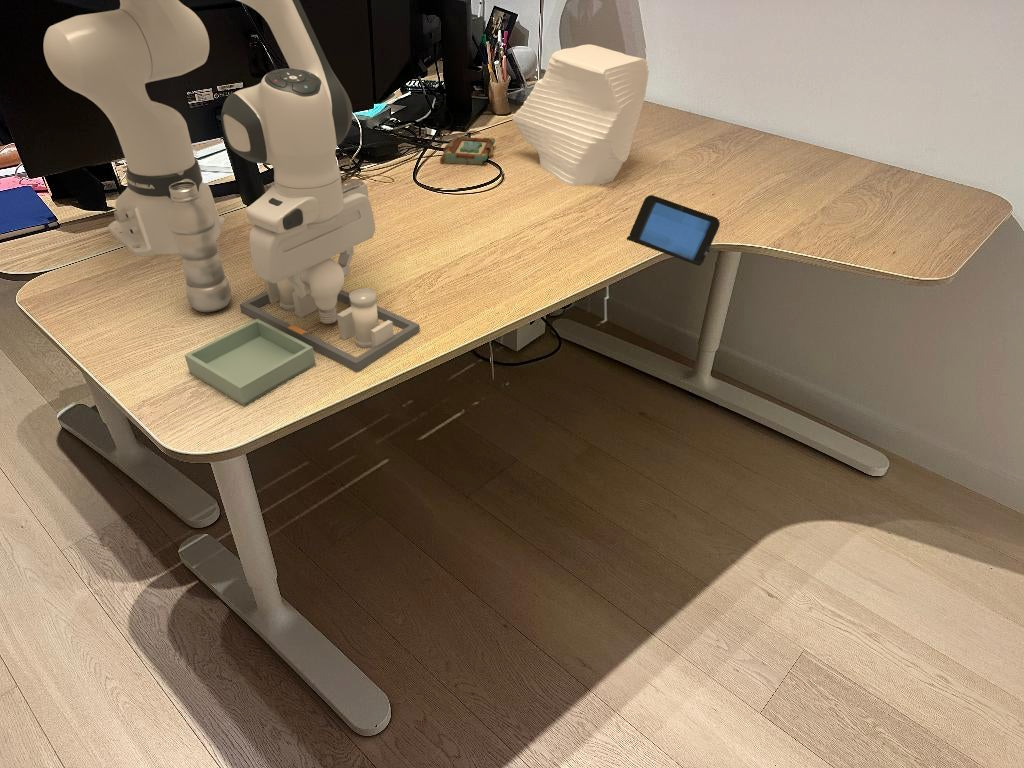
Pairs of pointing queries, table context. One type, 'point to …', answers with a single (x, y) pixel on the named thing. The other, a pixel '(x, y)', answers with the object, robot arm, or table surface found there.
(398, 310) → the table surface
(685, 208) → the small black monitor
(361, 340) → the cylinder
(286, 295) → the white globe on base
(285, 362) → the tray
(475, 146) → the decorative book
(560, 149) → the white ridged sculpture
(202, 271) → the plastic bottle
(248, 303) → the rail
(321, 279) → the lightbulb
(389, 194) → the table surface
